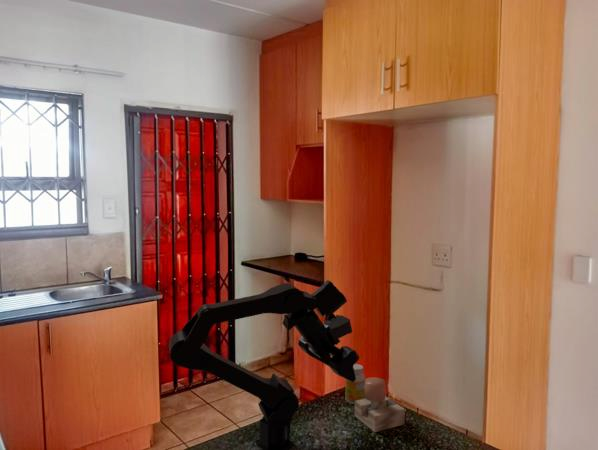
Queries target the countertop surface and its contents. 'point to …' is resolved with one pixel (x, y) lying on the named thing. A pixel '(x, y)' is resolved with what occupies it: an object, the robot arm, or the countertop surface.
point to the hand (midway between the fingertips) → (343, 373)
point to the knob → (374, 392)
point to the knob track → (380, 414)
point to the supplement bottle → (356, 386)
